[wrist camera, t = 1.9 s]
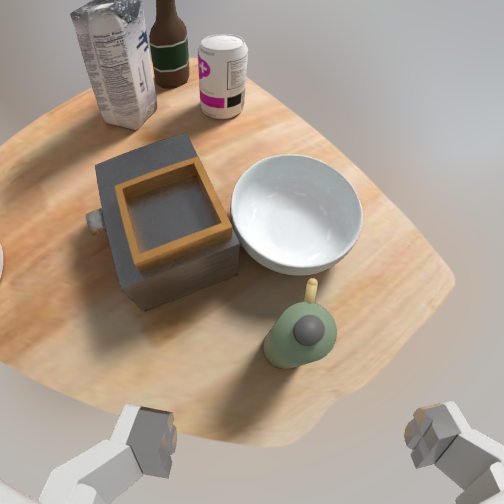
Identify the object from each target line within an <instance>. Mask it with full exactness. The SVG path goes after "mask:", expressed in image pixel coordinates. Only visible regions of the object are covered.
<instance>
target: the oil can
mask: <svg viewBox="0 0 504 504" xmlns="http://www.w3.org/2000/svg"><path fill="white" fill-rule="evenodd" d="M317 286H318V282H317V280H316V279H314V278H311V279H309V280H308V281H307V286H306V291H305V296H304V301H303V302H299V303H296V304H294V305H292V306H290V307H289V308H287V309H286V310H285V311H284V312H283V314H282V315H281V316H280V318H279V319H278V321H277V322H276V323H275V325H274V326H273V327H272V329H271V330H270V331H269V333H268V334H267V336H266V338H265V340H264V344H263V351H264V354H265V357H266V359H267V360H268V361H269V362H270V363H271V364H272V365H273V366H275V367H277V368H281V369H290V368H294V367H297V366H301V365H304V364H307V363H311V362H314V361H317V360H320V359H322V358H323V357H325V356H326V355H327V354H328V353H329V352H330V351H331V350H332V348H333V346H334V344H335V341H336V337H337V328H336V324H335V321H334V319H333V317H332V315H331V314H330V313H329V312H328V311H327V310H326V309H325V308H324V307H322V306H321V305H319V304H316V303H314V301H315V296H316V291H317Z"/></svg>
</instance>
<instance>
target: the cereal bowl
mask: <svg viewBox="0 0 504 504" xmlns="http://www.w3.org/2000/svg"><path fill="white" fill-rule="evenodd" d="M230 209H231V220H232V224H233V228H234V232H235V233H236V236H237V238H238V240H239V242H240V243H241V245H242V247H243V248H244V249H245V250H246V252H247V253H248V254H249V255H250V256H251V257H252V258H253V259H255V260H256V261H257V262H258V263H260V264H261V265H263V266H264V267H267V268H269V269H271V270H273V271H276V272H278V273H283V274H287V275H294V276H296V275H299V276H300V275H302V276H304V275H312V274H316V273H319V272H322V271H324V270H326V269H328V268H330V267H332V266H334V265H335V264H336V263H338V262H339V261H340V260H342V259H343V258H344V257H345V256H346V255H347V254H348V252H349V251H350V250H351V249H352V247H353V246H354V244H355V243H356V241H357V239H358V237H359V235H360V232H361V229H362V223H363V212H362V206H361V202H360V199H359V197H358V194H357V193H356V191H355V189H354V187H353V186H352V184H351V183H350V182H349V181H348V180H347V179H346V178H345V177H344V176H343V175H342V174H341V173H340V172H339V171H337V170H336V169H335V168H333V167H332V166H330V165H328V164H326V163H324V162H322V161H320V160H318V159H315V158H312V157H308V156H303V155H295V154H283V155H276V156H272V157H268V158H265V159H263V160H261V161H259V162H257V163H255V164H254V165H252V166H251V167H249V168H248V169H247V170H246V171H245V172H244V173H243V174H242V175H241V177H240V178H239V179H238V181H237V183H236V185H235V187H234V190H233V193H232V197H231V208H230Z"/></svg>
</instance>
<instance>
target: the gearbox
mask: <svg viewBox="0 0 504 504" xmlns="http://www.w3.org/2000/svg"><path fill="white" fill-rule="evenodd" d="M95 170H96V176H97V183H98V189H99V195H100V200H101V206H102V208H99V209H97V210H95V211H92V212H90V213H88V214H86V220H87V224H88V227H89V229H90V231H91V233H92V234H93V235H96V234H98V233H101V232H103V231H106V230H107V235H108V240H109V244H110V248H111V252H112V256H113V260H114V264H115V268H116V272H117V276H118V279H119V283H120V287H121V290H122V291H123V292H124V293H125V294H126V295H127V296H129V297H130V298H131V299H132V300H133V301H134V302H135V303H136V304H137V305H138V306H139V307H140V308H141V309H142V310H143V311H147V310H149V309H152V308H154V307H157V306H159V305H162V304H165V303H167V302H170V301H172V300H175V299H177V298H180V297H183V296H185V295H188V294H190V293H193V292H195V291H198V290H200V289H203V288H205V287H208V286H210V285H213V284H216V283H218V282H221V281H223V280H226V279H228V278H231V277H233V276H236V275H238V263H239V250H240V242H239V240H238V238H237V236H236V234H235V232H234V230H233V227H232V225H231V223H230V221H229V218H228V216H227V214H226V212H225V210H224V208H223V206H222V204H221V202H220V200H219V198H218V196H217V194H216V192H215V190H214V188H213V186H212V183H211V181H210V179H209V177H208V175H207V173H206V171H205V169H204V167H203V165H202V163H201V161H200V159H199V157H198V156H197V154H196V152H195V150H194V147H193V145H192V143H191V141H190V139H189V137H188V135H187V133H183V134H180V135H177V136H174V137H170V138H167V139H164V140H161V141H158V142H155V143H152V144H149V145H146V146H144V147H141V148H138V149H135V150H132V151H130V152H127V153H124V154H122V155H119V156H117V157H114V158H112V159H109V160H107V161H104V162H102V163H99V164H97V165H95Z"/></svg>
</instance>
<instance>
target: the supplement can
mask: <svg viewBox="0 0 504 504" xmlns="http://www.w3.org/2000/svg"><path fill="white" fill-rule="evenodd" d="M247 56H248V48H247V46H246V45H245V42H244V40H243V39H242V38H241V37H239V36H236V35H230V34H217V35H212V36H208V37H206V38H204V39H203V40H202V42H201V45H200V47H199V48H198V67H199V87H200V105H201V110H202V111H203V113H204V114H206V115H208V116H210V117H212V118H215V119H228V118H232V117H234V116H236V115H237V114H239V113H240V112H241V111H242V110H243V107H244V96H245V82H246V69H247Z"/></svg>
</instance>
